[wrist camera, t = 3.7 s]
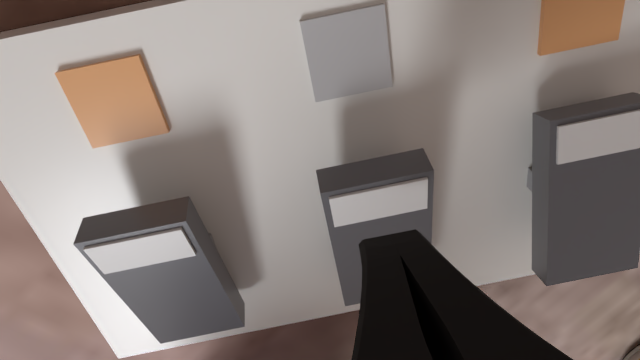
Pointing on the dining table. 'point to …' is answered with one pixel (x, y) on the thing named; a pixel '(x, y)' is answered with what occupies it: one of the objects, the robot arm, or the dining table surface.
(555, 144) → the block
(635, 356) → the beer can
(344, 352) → the dining table surface
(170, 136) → the switch panel
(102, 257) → the block
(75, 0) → the dining table surface
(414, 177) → the block
